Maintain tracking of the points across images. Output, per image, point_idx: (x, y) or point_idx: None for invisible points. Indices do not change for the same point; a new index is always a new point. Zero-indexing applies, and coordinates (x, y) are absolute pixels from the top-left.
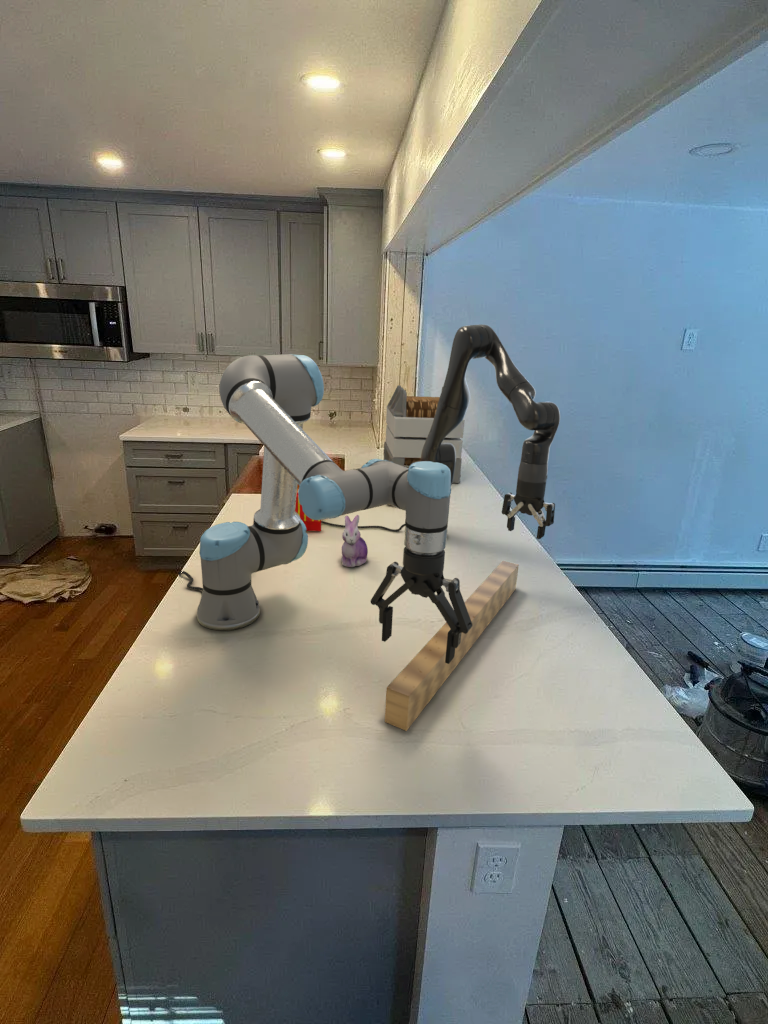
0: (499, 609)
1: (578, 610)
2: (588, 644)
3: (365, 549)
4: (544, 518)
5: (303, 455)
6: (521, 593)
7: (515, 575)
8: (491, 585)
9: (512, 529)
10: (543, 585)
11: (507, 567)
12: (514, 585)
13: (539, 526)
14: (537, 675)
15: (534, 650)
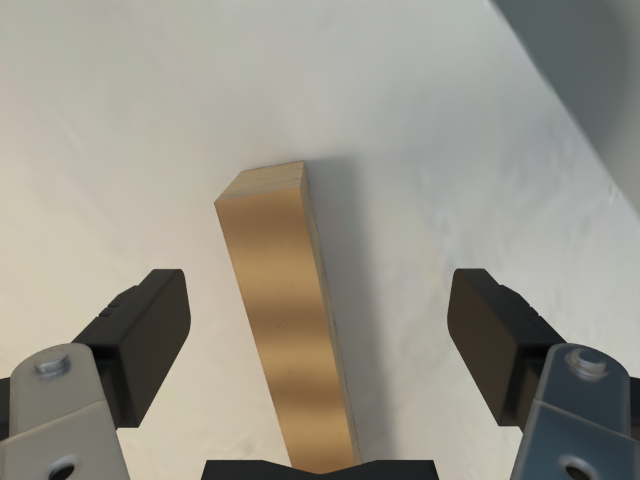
0: (335, 326)
1: (555, 145)
2: (609, 316)
3: None
4: (622, 433)
5: None
6: (335, 172)
7: (308, 211)
8: (316, 424)
9: (183, 293)
10: (376, 30)
11: (276, 257)
12: (308, 192)
13: (514, 419)
14: None
15: (488, 416)
